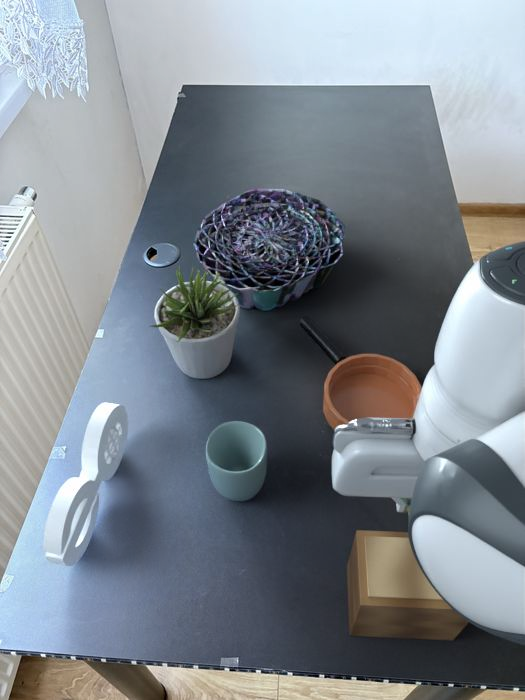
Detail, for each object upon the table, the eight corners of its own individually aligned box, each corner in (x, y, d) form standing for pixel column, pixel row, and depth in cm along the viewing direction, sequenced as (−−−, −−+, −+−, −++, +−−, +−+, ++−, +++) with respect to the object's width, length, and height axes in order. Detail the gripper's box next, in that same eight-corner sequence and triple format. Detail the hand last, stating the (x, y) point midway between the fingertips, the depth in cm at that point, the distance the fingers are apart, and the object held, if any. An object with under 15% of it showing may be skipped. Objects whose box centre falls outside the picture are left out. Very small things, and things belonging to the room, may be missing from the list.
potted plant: (143, 369, 96) (119, 278, 80) (200, 318, 103) (187, 226, 87) (203, 408, 91) (189, 319, 75) (258, 352, 98) (255, 260, 82)
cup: (219, 454, 86) (214, 415, 78) (272, 463, 85) (272, 425, 77) (204, 503, 81) (198, 467, 73) (261, 514, 80) (260, 479, 72)
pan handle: (345, 362, 93) (347, 354, 91) (335, 368, 92) (336, 360, 91) (308, 322, 98) (309, 314, 97) (298, 327, 98) (299, 319, 96)
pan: (437, 420, 89) (443, 403, 85) (361, 466, 84) (365, 450, 81) (376, 358, 97) (380, 340, 93) (304, 397, 92) (305, 379, 88)
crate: (442, 571, 75) (466, 532, 65) (452, 640, 69) (480, 609, 60) (346, 567, 75) (356, 528, 66) (349, 635, 70) (361, 603, 61)
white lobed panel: (118, 428, 89) (103, 388, 81) (132, 430, 88) (119, 390, 81) (59, 574, 75) (34, 543, 67) (75, 577, 75) (52, 546, 67)
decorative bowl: (367, 272, 112) (376, 228, 105) (270, 349, 98) (273, 304, 90) (265, 216, 123) (268, 173, 116) (165, 277, 109) (160, 232, 102)
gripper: (336, 456, 43) (324, 534, 54) (625, 466, 42) (555, 543, 53) (334, 386, 47) (323, 472, 58) (597, 394, 46) (537, 479, 57)
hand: (436, 506), depth 55 cm, fingers closed on block, 4 cm apart
